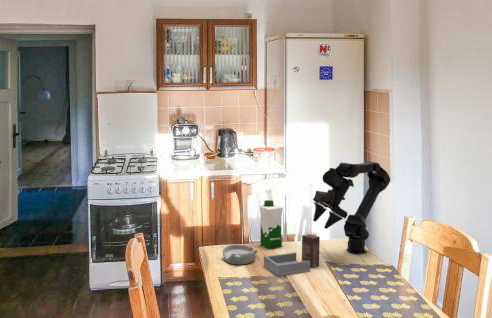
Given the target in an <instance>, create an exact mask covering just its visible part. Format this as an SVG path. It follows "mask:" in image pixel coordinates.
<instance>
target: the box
mask: <svg viewBox="0 0 492 318" xmlns="http://www.w3.org/2000/svg"><path fill="white" fill-rule="evenodd" d="M320 238H321V237H320V236H319V235H315V234H310V233H308V234H307V233H306V234H302V235H301V239H302V240H301V261H308V260H309V261H310V269H313V268H317V267H319V266H320V241H321V240H320Z"/></svg>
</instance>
